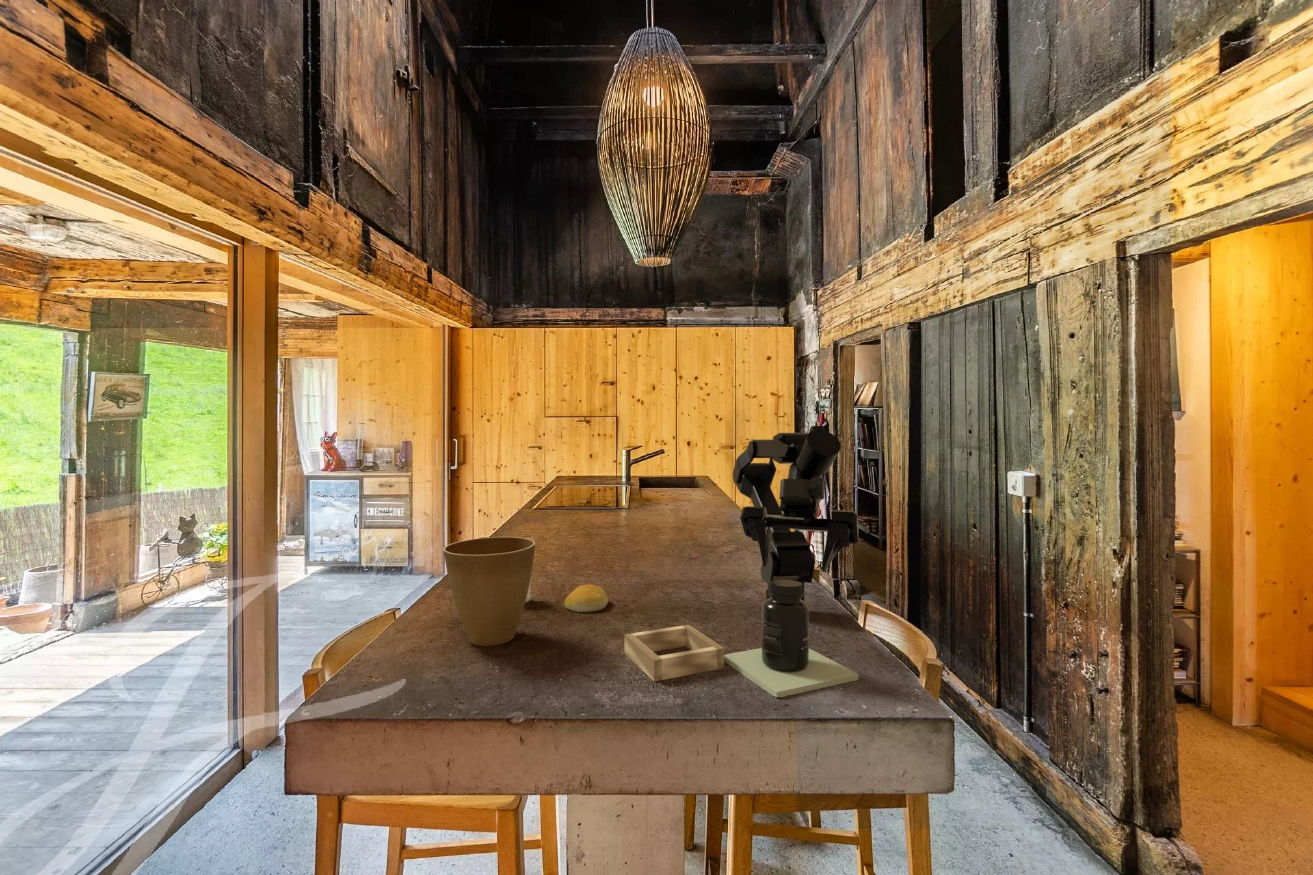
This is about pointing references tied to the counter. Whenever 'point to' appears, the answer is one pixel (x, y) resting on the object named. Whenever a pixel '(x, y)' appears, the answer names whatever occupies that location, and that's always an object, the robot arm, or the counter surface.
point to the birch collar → (668, 666)
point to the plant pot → (490, 585)
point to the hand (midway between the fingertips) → (793, 568)
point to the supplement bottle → (785, 627)
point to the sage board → (790, 673)
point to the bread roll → (586, 599)
